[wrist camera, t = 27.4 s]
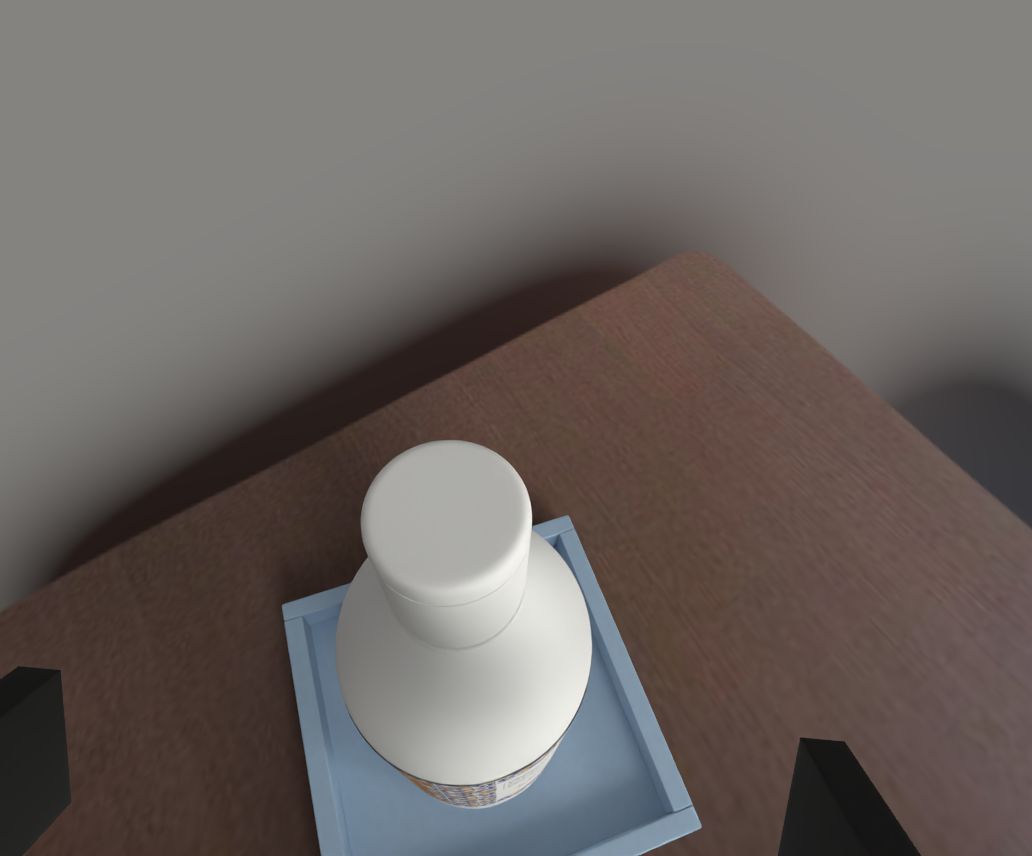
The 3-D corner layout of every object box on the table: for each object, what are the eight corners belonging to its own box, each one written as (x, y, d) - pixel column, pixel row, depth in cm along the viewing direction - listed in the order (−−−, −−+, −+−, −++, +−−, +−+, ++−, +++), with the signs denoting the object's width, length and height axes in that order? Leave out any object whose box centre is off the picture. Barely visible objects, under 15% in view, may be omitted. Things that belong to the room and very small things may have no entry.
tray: (293, 618, 30) (280, 604, 29) (564, 531, 33) (568, 514, 31) (352, 975, 23) (340, 985, 22) (689, 828, 26) (703, 827, 24)
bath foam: (373, 672, 29) (196, 418, 12) (517, 609, 30) (542, 308, 13) (427, 843, 25) (288, 830, 8) (586, 761, 27) (735, 613, 10)
